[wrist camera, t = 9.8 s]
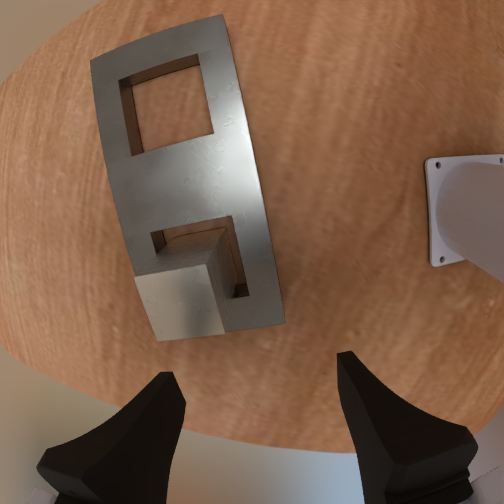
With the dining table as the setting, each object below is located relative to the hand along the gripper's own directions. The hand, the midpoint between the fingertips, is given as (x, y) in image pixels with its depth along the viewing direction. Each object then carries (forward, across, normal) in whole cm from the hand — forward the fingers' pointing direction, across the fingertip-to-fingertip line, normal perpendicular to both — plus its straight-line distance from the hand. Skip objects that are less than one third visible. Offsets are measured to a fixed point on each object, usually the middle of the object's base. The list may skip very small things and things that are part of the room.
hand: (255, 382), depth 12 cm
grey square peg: (+9, +3, -3) cm, 10 cm away
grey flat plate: (+9, +3, -8) cm, 13 cm away
